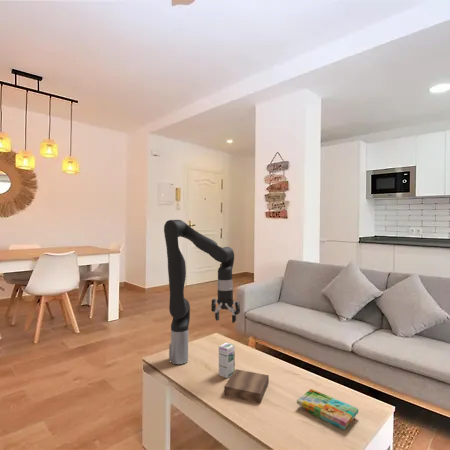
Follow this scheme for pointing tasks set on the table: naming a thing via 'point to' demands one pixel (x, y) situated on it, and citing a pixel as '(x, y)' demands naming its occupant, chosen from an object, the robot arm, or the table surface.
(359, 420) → the table surface
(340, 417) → the puzzle game
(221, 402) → the table surface
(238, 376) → the walnut base
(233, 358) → the syrup box
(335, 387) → the table surface
